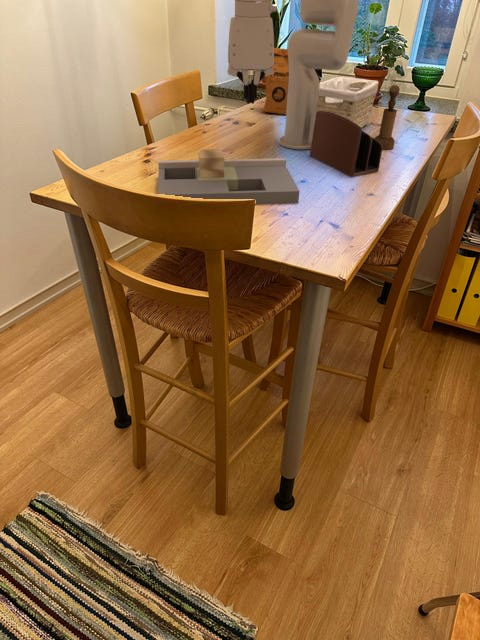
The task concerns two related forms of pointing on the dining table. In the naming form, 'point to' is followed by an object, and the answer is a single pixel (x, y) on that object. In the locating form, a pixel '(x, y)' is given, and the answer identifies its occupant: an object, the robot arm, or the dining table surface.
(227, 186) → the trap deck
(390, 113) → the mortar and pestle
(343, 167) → the letter holder
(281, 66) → the coffee package
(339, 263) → the dining table surface
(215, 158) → the beech block
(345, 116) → the storage basket
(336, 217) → the dining table surface
